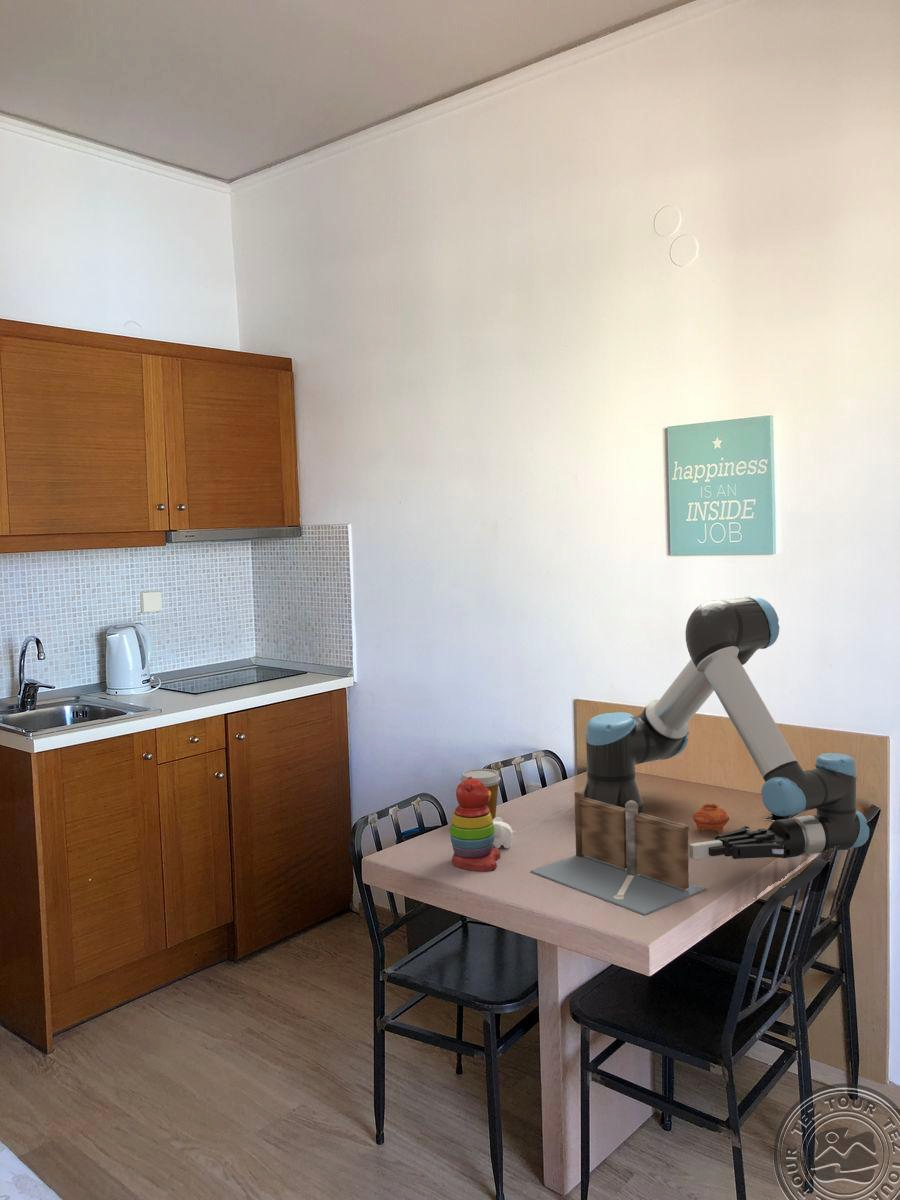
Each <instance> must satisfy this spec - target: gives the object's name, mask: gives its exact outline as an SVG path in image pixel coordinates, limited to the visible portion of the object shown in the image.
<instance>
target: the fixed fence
mask: <svg viewBox="0 0 900 1200" xmlns="http://www.w3.org/2000/svg"><path fill="white" fill-rule="evenodd" d="M635 814H638V804H637V803H636V802H635V801H632V800H630V801H628V802H627V803H626V804H625V808H622V807H618V806H615V805H611V804H607V803H604V802H600V801H597V800H593V799H589V798H584V792H583V791H574V826H575V831H574V832H575V833H574V834H575V856H578V857H583V856H587V857H590V858H593V859H596V860H599V861H602V862H605V863H608V864H611V865H614V866H617V867H620V868H623V869H626V868H627V874H629V875H637V874H638V873H637V853H636V820H635Z"/></svg>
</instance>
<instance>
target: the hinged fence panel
mask: <svg viewBox="0 0 900 1200" xmlns="http://www.w3.org/2000/svg"><path fill="white" fill-rule="evenodd" d="M635 820H636V853H637V873H638V874H641V875H643V876H646V877H649V878H652V879H655V880H658V881H661V882H664V883H667V884H670V885H673V886H676V887H679V888H682V889H687V888H689V882H690V880H689V873H690V870H689V869H690V868H689V832H690V826H689V825H686V824H683V823H680V822H676V821H672V820H669V819H665V818H661V817H659V816H653V815H650V814H647V813H638V814H635Z"/></svg>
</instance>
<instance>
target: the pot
mask: <svg viewBox="0 0 900 1200" xmlns="http://www.w3.org/2000/svg"><path fill="white" fill-rule="evenodd" d="M692 821H693V822H694V823H695V825H696V829H697V832H698V833H700V832H701V833H702V829H703V830H707V831H717V833H718V835H719V834H723V833H724V832H723V830H724V826H726V825H727V824H728V823H729V821H730V816H729V814H728V812H727V811H725V810H724V808H723V809H722V808H721V807H720V805H718V804H715V803H712V804H711V803H706V804H702V806H701V807H700V808H699V809H697V810H696V811H695V813H693V815H692Z"/></svg>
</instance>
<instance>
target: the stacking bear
mask: <svg viewBox="0 0 900 1200" xmlns="http://www.w3.org/2000/svg"><path fill="white" fill-rule="evenodd" d="M455 789H456V791H455V796H456V800H457V803H458V806H457V807H456V808H455V809H454V811H453V813H452V816H451V821H450V822H451V823H450V826H449V827H450V828H449V829H450V830H449V833H450V834H449V836H450V841H451V842H450V843H451V845H452V850H453V855H452V858H451V863H452V865H454V866H455V867H457V868H460V869H463V870H470V871H476V872H478V871H479V872H490V871H494V870H496V869H497V867H498V863H497V862H496V860H499V859H500V858H501V851H500V850H499V848H498V849H497V848H495V847H494V834H495V833H494V831H495V829H494V824H493V821H492V816H491V813H490V809H489V808H488V806H487V805H486V804H487V803H488V802H489V801H490V799H491V796H492V793H491V791H489V790H488V789H487V788H486V787H485V785H484V784H483V783H482V782H481V781H480V780H477V779H472V777H468V779H467V780H464V781H460V783H459V784H458V785H457V787H456V788H455Z"/></svg>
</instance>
